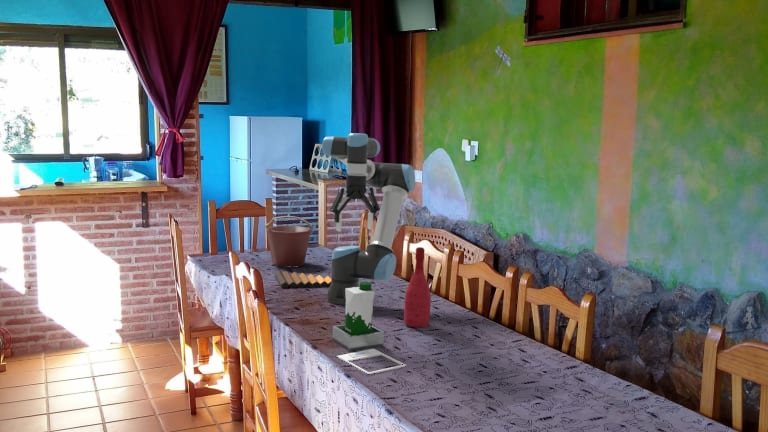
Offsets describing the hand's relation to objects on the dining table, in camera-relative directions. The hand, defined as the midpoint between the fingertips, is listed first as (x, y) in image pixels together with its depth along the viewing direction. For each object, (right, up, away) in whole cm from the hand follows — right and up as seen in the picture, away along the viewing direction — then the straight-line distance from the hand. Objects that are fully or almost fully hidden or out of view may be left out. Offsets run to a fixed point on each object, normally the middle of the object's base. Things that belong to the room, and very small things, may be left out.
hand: (354, 230), depth 268 cm
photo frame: (+7, -42, -42) cm, 60 cm away
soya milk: (+2, -38, -24) cm, 45 cm away
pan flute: (-26, -26, +63) cm, 73 cm away
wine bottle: (+24, -36, 0) cm, 43 cm away
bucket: (-38, -20, +99) cm, 108 cm away
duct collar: (+2, -39, -24) cm, 46 cm away
